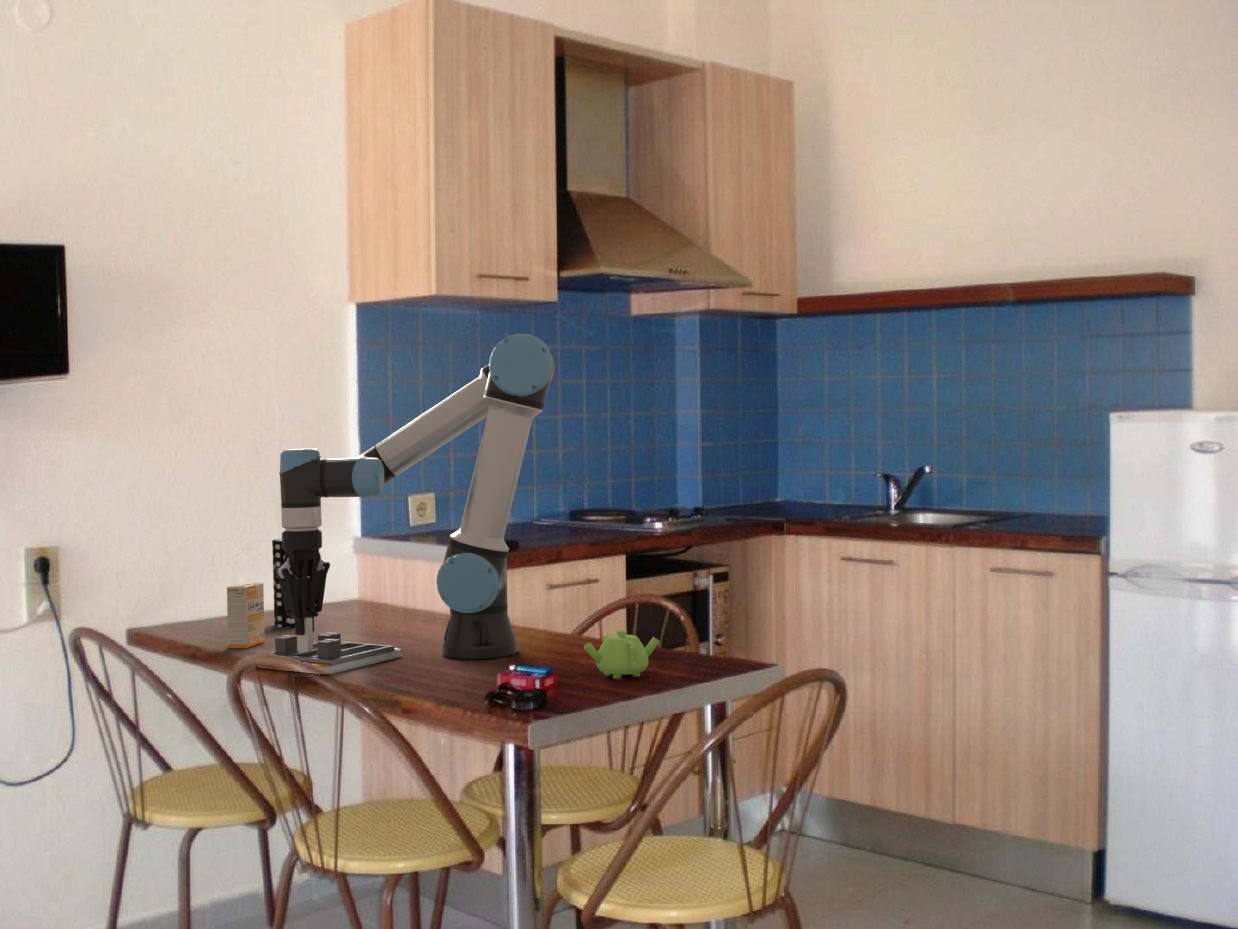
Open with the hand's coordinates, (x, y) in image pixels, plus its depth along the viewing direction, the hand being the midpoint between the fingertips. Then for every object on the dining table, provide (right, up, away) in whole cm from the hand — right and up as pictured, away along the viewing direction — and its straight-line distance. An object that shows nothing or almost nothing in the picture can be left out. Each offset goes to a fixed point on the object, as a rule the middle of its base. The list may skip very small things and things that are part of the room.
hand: (305, 651), depth 266 cm
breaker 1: (-4, -2, +4) cm, 6 cm away
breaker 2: (+5, -2, -2) cm, 6 cm away
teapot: (+61, -3, -13) cm, 62 cm away
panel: (+3, -3, +6) cm, 8 cm away
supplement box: (-19, -3, +29) cm, 35 cm away
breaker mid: (+3, -1, +6) cm, 7 cm away
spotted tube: (-16, -2, +57) cm, 59 cm away
